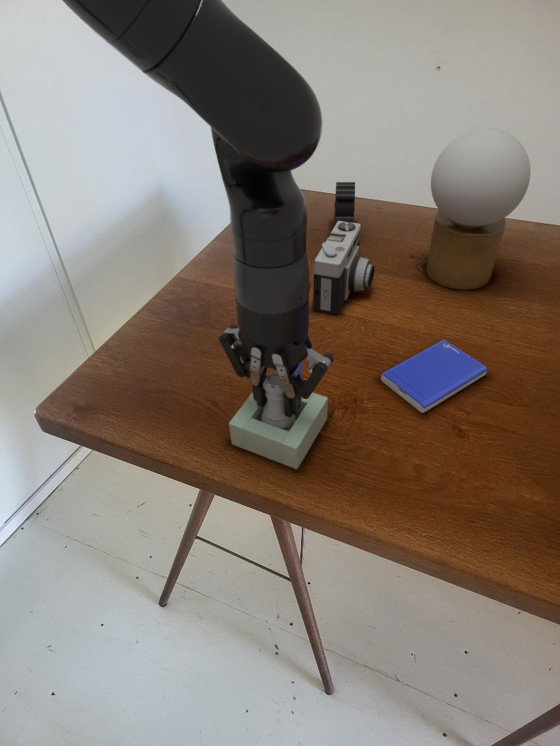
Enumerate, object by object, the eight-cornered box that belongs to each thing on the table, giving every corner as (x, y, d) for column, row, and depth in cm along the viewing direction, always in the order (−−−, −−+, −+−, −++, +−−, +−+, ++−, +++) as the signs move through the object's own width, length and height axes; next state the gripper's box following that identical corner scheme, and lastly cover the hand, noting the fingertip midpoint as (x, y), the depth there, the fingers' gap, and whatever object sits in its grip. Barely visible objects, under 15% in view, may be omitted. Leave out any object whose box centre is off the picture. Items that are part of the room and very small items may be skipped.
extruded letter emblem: (352, 260, 97) (356, 203, 90) (334, 260, 98) (336, 203, 90) (350, 216, 110) (353, 164, 103) (334, 216, 111) (336, 164, 103)
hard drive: (443, 338, 77) (381, 372, 72) (488, 367, 72) (424, 406, 67) (441, 346, 78) (380, 380, 73) (485, 375, 73) (423, 414, 68)
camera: (359, 320, 84) (364, 266, 77) (311, 311, 86) (311, 257, 79) (378, 275, 93) (384, 223, 86) (334, 268, 96) (336, 217, 89)
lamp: (494, 309, 84) (541, 152, 67) (407, 294, 89) (431, 142, 72) (502, 263, 95) (544, 116, 78) (424, 251, 99) (448, 109, 82)
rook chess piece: (263, 409, 68) (259, 364, 62) (297, 411, 67) (296, 366, 62) (258, 436, 65) (254, 390, 59) (294, 438, 64) (293, 392, 59)
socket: (231, 444, 66) (228, 423, 63) (266, 397, 72) (264, 376, 69) (297, 470, 62) (296, 448, 60) (327, 418, 68) (328, 397, 66)
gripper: (192, 292, 52) (213, 409, 64) (321, 328, 47) (317, 448, 59) (231, 257, 57) (243, 372, 69) (351, 286, 52) (342, 405, 64)
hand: (277, 406), depth 64 cm, fingers closed on rook chess piece, 3 cm apart
